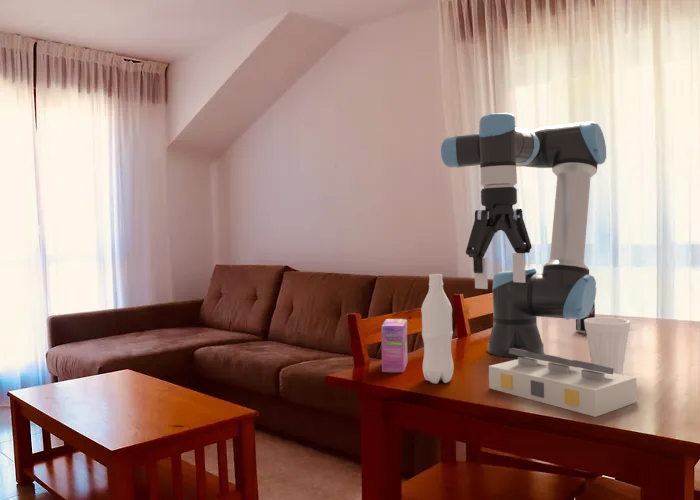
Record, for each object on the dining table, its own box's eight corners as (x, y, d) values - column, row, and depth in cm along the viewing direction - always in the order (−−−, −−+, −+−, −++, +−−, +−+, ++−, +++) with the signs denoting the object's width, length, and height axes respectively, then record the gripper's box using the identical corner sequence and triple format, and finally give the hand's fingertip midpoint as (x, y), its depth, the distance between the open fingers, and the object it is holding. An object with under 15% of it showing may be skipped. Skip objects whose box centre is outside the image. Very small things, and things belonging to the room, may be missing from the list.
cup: (627, 383, 135) (627, 325, 134) (580, 378, 140) (579, 322, 139) (633, 373, 143) (633, 318, 143) (588, 369, 148) (588, 316, 148)
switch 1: (528, 357, 138) (529, 352, 138) (545, 361, 134) (546, 355, 134) (508, 353, 134) (509, 347, 134) (525, 356, 130) (526, 350, 130)
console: (530, 377, 142) (529, 350, 142) (636, 402, 121) (636, 370, 121) (488, 388, 134) (487, 359, 134) (594, 417, 113) (594, 383, 113)
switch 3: (591, 370, 125) (592, 364, 125) (612, 374, 121) (613, 368, 121) (571, 365, 121) (573, 359, 121) (592, 370, 117) (593, 363, 117)
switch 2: (558, 363, 131) (559, 357, 131) (577, 367, 128) (578, 361, 128) (538, 359, 127) (539, 353, 128) (557, 363, 124) (558, 356, 124)
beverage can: (596, 331, 196) (596, 294, 196) (593, 334, 191) (592, 296, 191) (578, 330, 199) (577, 293, 199) (574, 333, 195) (573, 295, 194)
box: (404, 372, 151) (403, 325, 150) (381, 372, 152) (380, 325, 151) (408, 363, 161) (407, 318, 161) (386, 362, 162) (385, 318, 162)
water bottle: (453, 385, 138) (450, 275, 137) (421, 384, 139) (418, 276, 138) (454, 377, 145) (451, 272, 144) (424, 376, 146) (421, 273, 145)
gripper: (517, 188, 141) (519, 279, 142) (446, 187, 125) (449, 290, 126) (546, 186, 136) (548, 280, 137) (476, 185, 120) (478, 292, 121)
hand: (500, 285), depth 132 cm, fingers open, 13 cm apart
